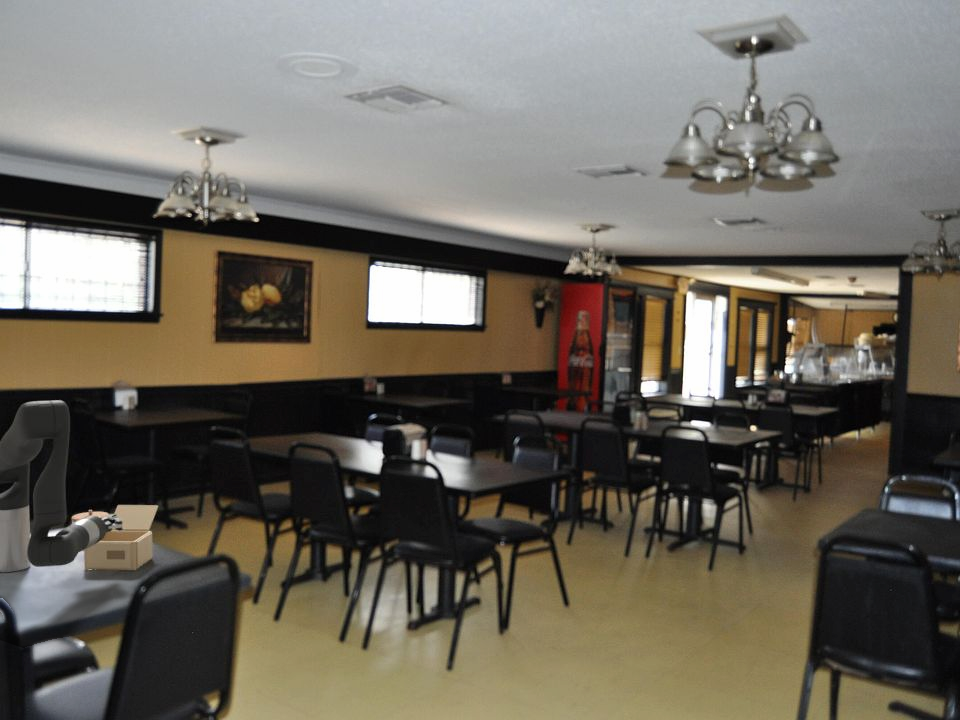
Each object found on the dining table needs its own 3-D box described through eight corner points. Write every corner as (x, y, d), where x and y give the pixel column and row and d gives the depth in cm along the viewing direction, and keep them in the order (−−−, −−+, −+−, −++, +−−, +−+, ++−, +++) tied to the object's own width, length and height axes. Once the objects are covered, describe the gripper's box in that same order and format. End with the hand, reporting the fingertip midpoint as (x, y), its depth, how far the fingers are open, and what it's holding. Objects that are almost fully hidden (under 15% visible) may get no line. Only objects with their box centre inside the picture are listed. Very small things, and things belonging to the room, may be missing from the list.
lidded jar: (71, 538, 272) (70, 508, 271) (108, 534, 277) (107, 505, 276) (73, 546, 262) (72, 515, 262) (111, 541, 267) (110, 512, 267)
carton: (81, 570, 237) (81, 542, 237) (102, 557, 250) (102, 530, 249) (135, 571, 237) (135, 542, 237) (153, 558, 250) (153, 531, 249)
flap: (107, 529, 250) (117, 504, 256) (107, 530, 250) (118, 506, 257) (148, 529, 249) (157, 505, 256) (149, 530, 250) (158, 506, 257)
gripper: (109, 519, 222) (137, 504, 240) (58, 518, 223) (90, 504, 240) (110, 548, 223) (137, 531, 240) (59, 547, 223) (90, 530, 240)
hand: (113, 517), depth 240 cm, fingers closed
